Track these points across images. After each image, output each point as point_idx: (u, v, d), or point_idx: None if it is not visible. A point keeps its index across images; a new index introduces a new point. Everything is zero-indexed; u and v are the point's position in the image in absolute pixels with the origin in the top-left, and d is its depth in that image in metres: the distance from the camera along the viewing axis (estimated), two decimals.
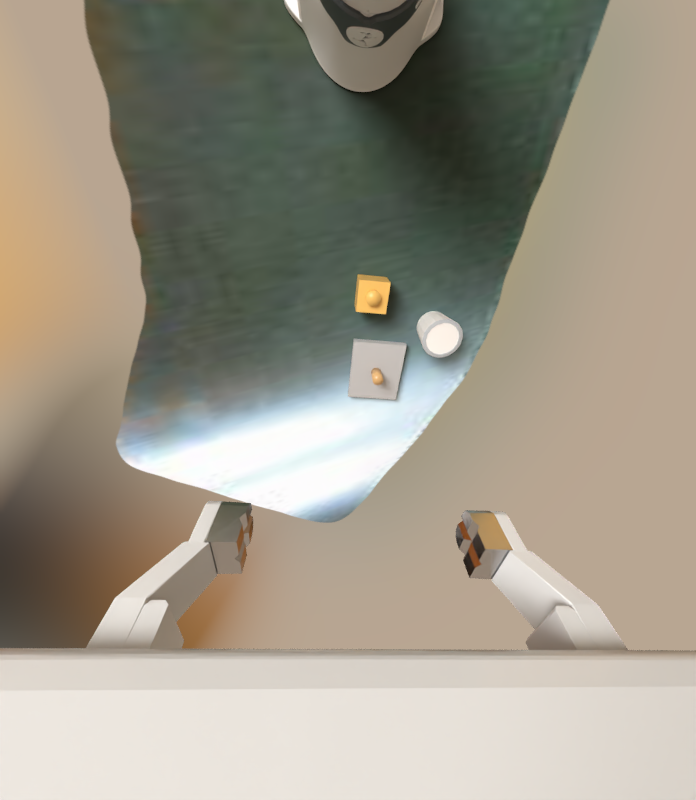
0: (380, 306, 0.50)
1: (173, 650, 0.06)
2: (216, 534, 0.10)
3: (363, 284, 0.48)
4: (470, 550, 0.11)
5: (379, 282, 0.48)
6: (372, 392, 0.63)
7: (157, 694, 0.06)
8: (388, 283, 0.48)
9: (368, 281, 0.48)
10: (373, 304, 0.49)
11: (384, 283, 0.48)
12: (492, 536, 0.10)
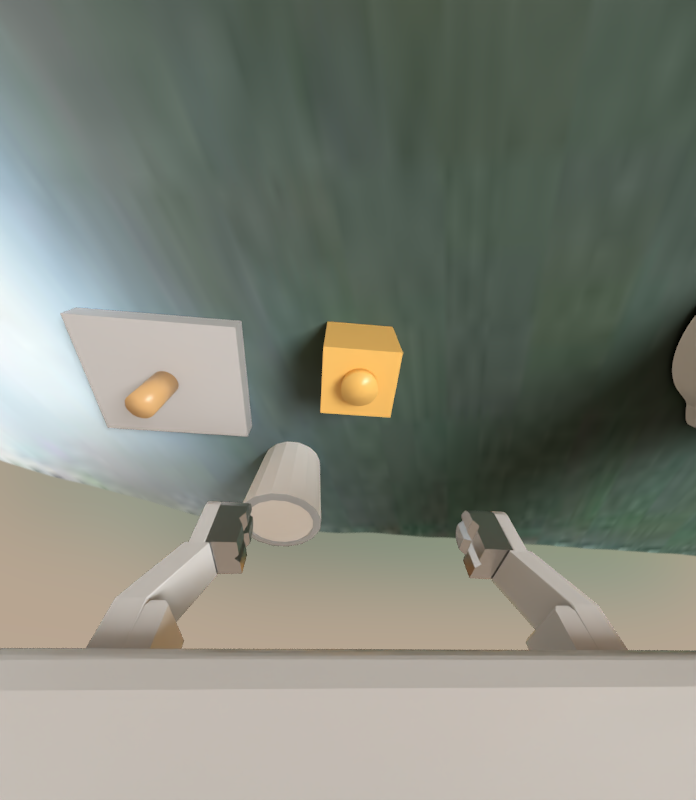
0: (338, 401, 0.21)
1: (173, 650, 0.06)
2: (216, 534, 0.10)
3: (391, 362, 0.19)
4: (470, 550, 0.11)
5: (392, 395, 0.21)
6: (104, 377, 0.24)
7: (157, 694, 0.06)
8: (388, 413, 0.22)
9: (396, 372, 0.20)
10: (345, 391, 0.20)
11: (389, 405, 0.21)
12: (492, 536, 0.10)
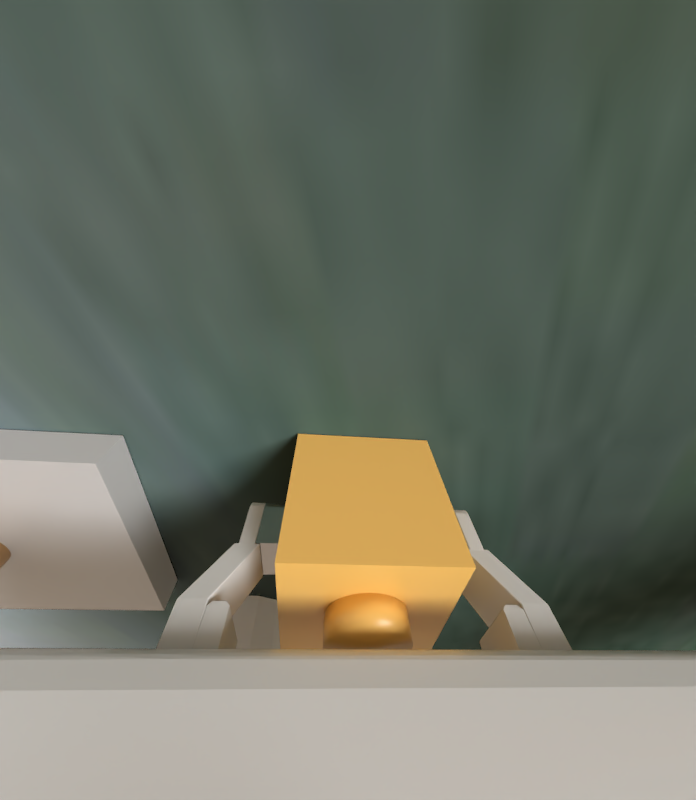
0: (318, 636, 0.09)
1: (173, 650, 0.06)
2: (266, 536, 0.10)
3: (444, 582, 0.08)
4: None
5: (439, 624, 0.09)
6: None
7: (157, 694, 0.06)
8: (428, 645, 0.10)
9: (454, 595, 0.08)
10: None
11: (431, 638, 0.10)
12: None
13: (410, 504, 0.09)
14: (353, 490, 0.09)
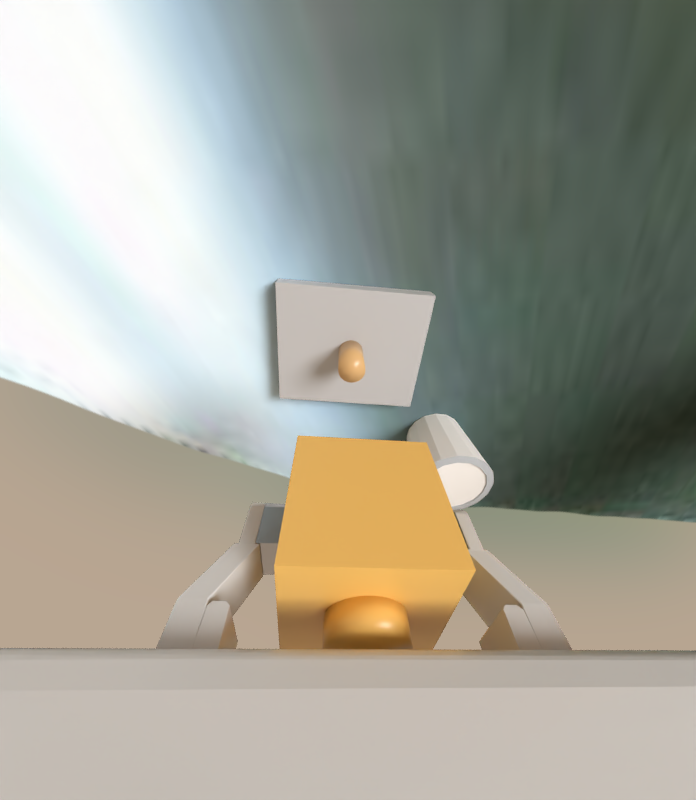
0: (318, 639, 0.09)
1: (173, 650, 0.06)
2: (266, 536, 0.10)
3: (444, 585, 0.08)
4: None
5: (439, 627, 0.09)
6: (294, 346, 0.25)
7: (157, 694, 0.06)
8: (428, 648, 0.10)
9: (454, 597, 0.08)
10: None
11: (431, 641, 0.10)
12: None
13: (410, 506, 0.09)
14: (353, 492, 0.09)
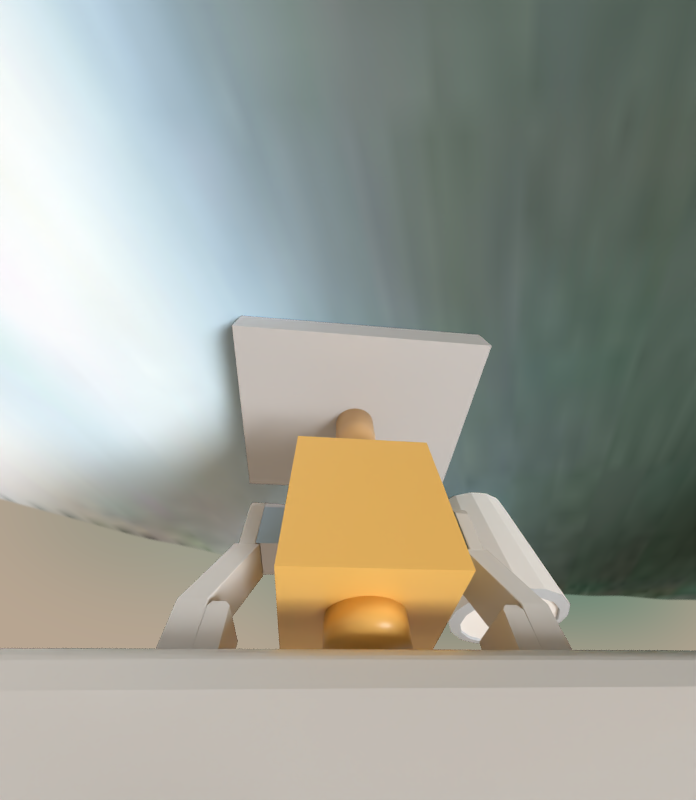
0: (318, 639, 0.09)
1: (173, 650, 0.06)
2: (265, 535, 0.10)
3: (444, 585, 0.08)
4: None
5: (439, 627, 0.09)
6: (267, 417, 0.16)
7: (157, 694, 0.06)
8: (428, 648, 0.10)
9: (454, 598, 0.08)
10: None
11: (431, 641, 0.10)
12: None
13: (410, 506, 0.09)
14: (353, 492, 0.09)
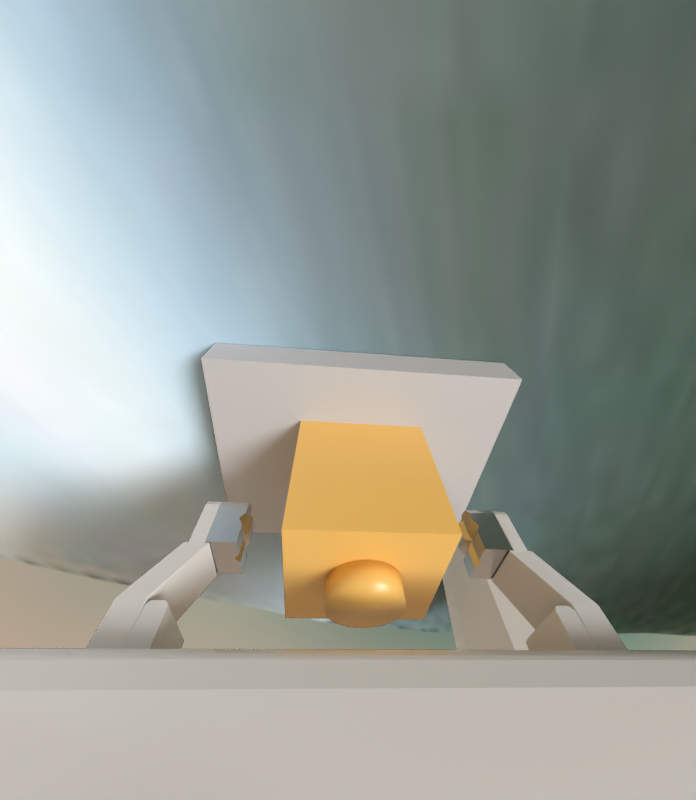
0: (320, 603, 0.10)
1: (173, 650, 0.06)
2: (216, 534, 0.10)
3: (434, 549, 0.09)
4: (470, 550, 0.11)
5: (431, 592, 0.10)
6: (250, 462, 0.13)
7: (157, 694, 0.06)
8: (421, 614, 0.11)
9: (444, 562, 0.09)
10: (335, 612, 0.09)
11: (424, 606, 0.11)
12: (492, 536, 0.10)
13: (404, 481, 0.10)
14: (352, 469, 0.10)
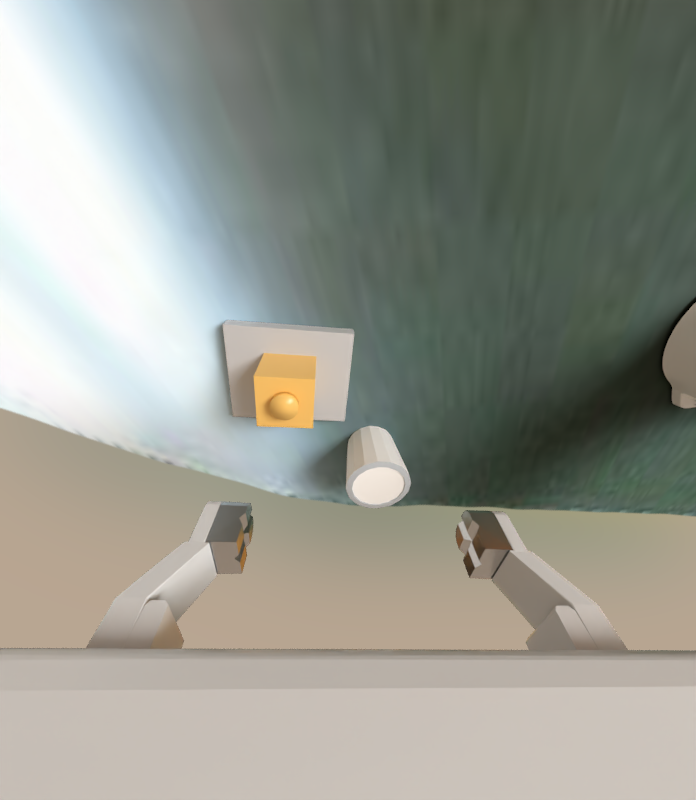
0: (270, 416, 0.27)
1: (173, 650, 0.06)
2: (216, 534, 0.10)
3: (307, 386, 0.26)
4: (470, 550, 0.11)
5: (312, 411, 0.27)
6: (242, 374, 0.30)
7: (157, 694, 0.06)
8: (311, 425, 0.28)
9: (313, 394, 0.26)
10: (273, 409, 0.26)
11: (311, 419, 0.27)
12: (492, 536, 0.10)
13: (301, 369, 0.27)
14: (281, 365, 0.27)
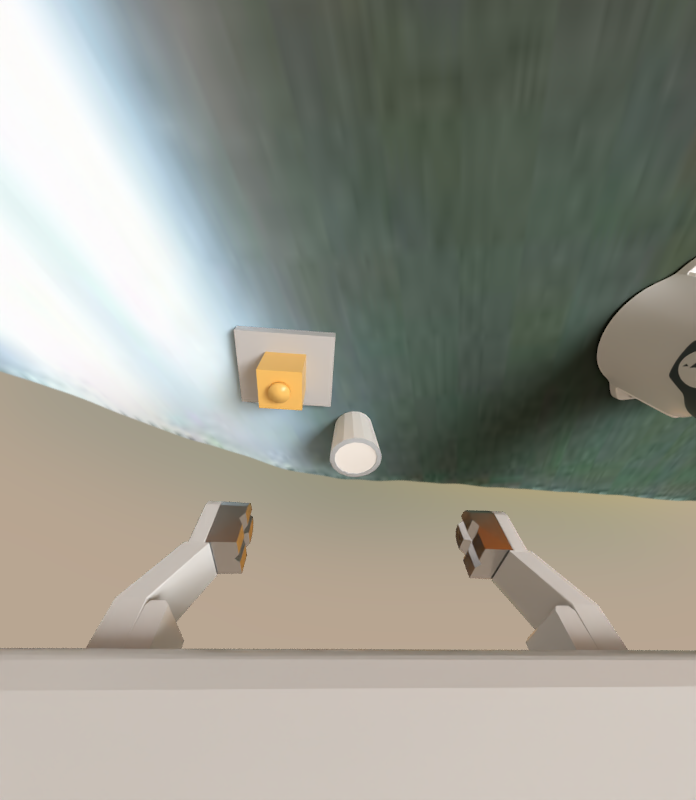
0: (268, 400, 0.35)
1: (173, 650, 0.06)
2: (216, 534, 0.10)
3: (296, 377, 0.34)
4: (470, 550, 0.11)
5: (300, 397, 0.35)
6: (248, 368, 0.38)
7: (157, 694, 0.06)
8: (300, 407, 0.36)
9: (300, 383, 0.34)
10: (270, 394, 0.34)
11: (300, 403, 0.36)
12: (492, 536, 0.10)
13: (292, 364, 0.35)
14: (278, 361, 0.35)
